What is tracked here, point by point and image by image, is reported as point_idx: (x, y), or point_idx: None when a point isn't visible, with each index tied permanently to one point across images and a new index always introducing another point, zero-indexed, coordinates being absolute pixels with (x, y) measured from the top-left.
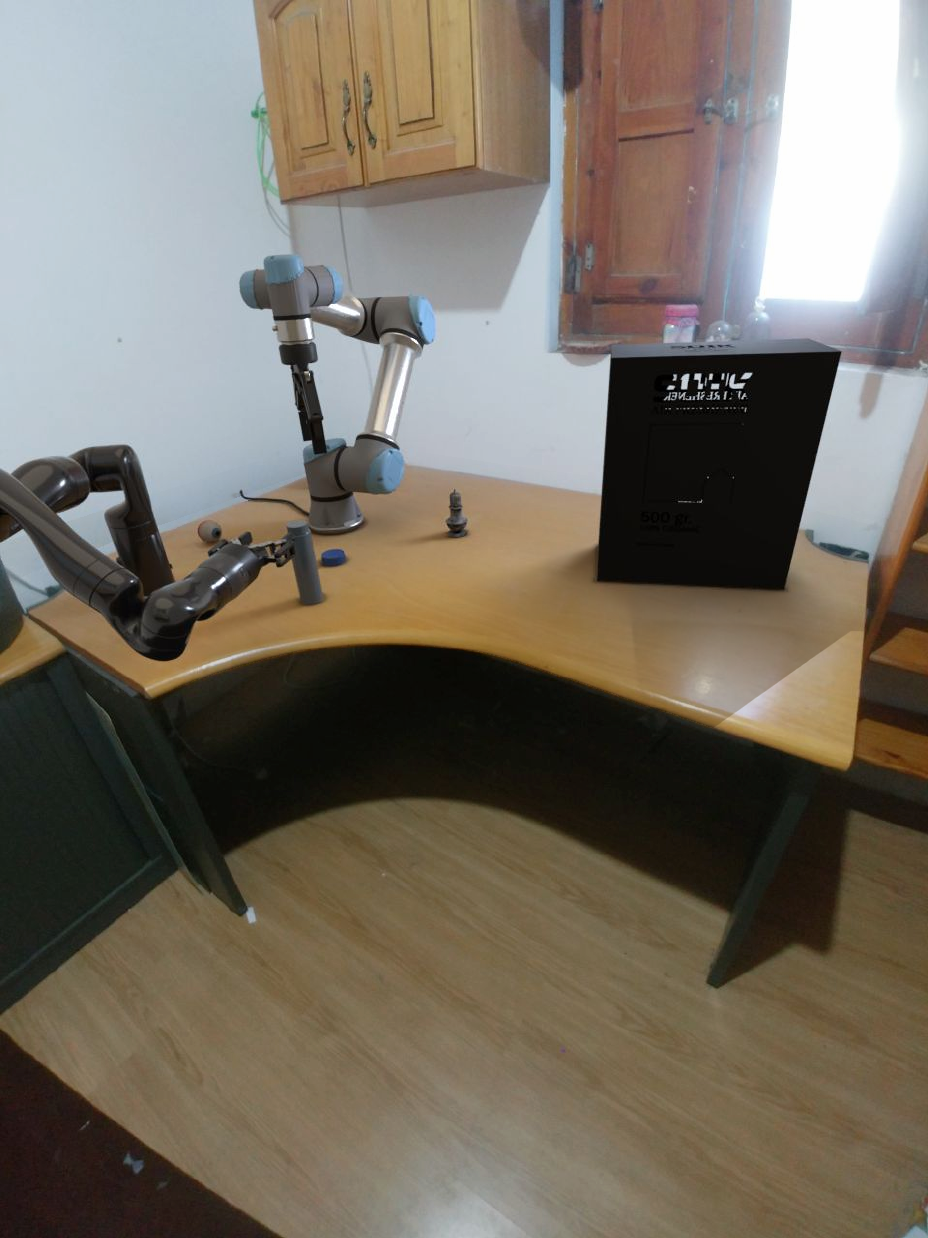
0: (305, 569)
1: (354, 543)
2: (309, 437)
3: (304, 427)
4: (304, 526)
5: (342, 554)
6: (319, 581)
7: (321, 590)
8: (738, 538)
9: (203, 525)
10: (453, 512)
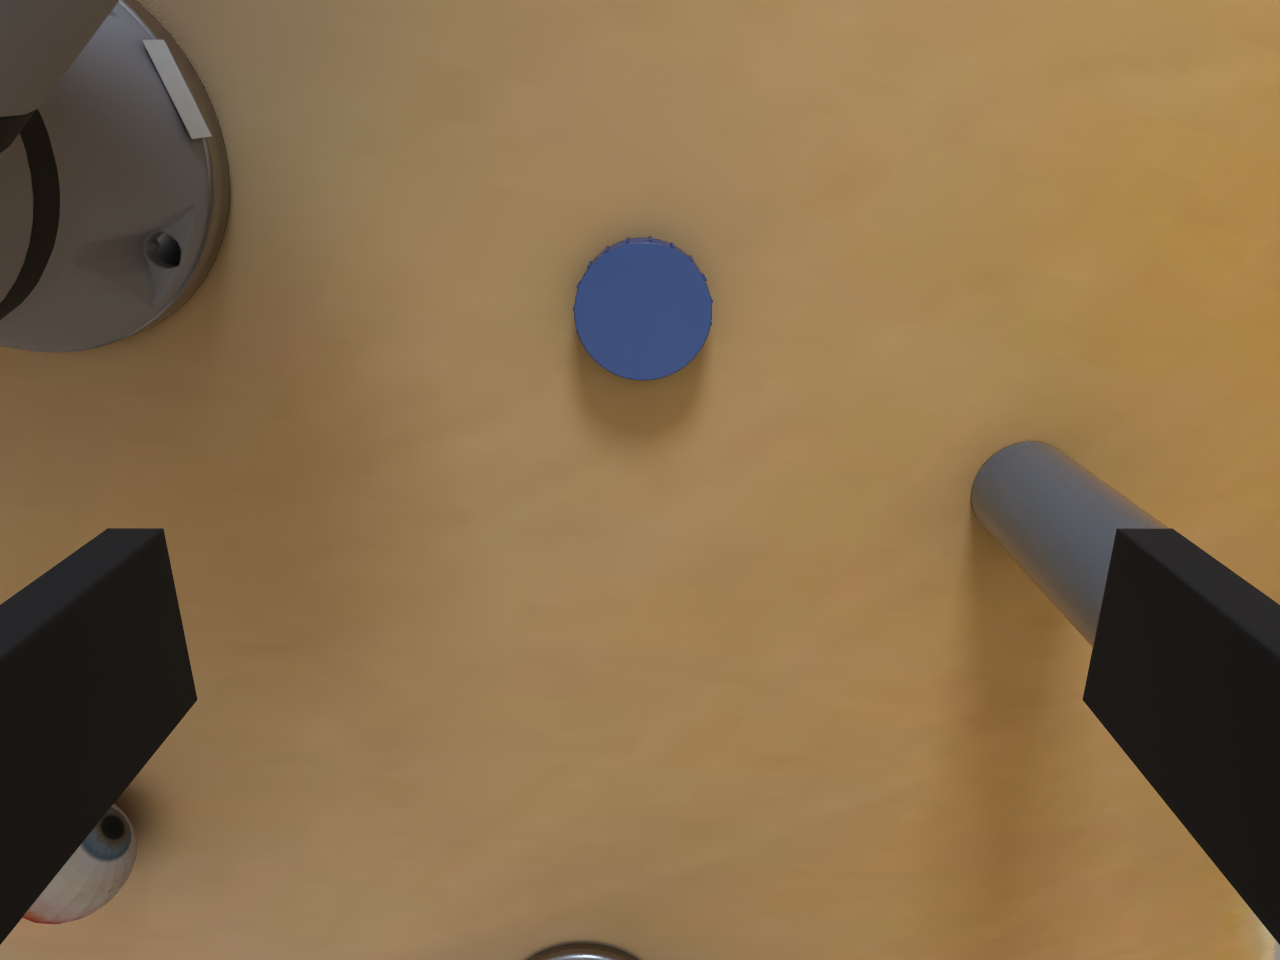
0: None
1: (425, 125)
2: (156, 638)
3: (61, 804)
4: None
5: (687, 263)
6: (1100, 479)
7: (1071, 459)
8: None
9: (73, 911)
10: None
